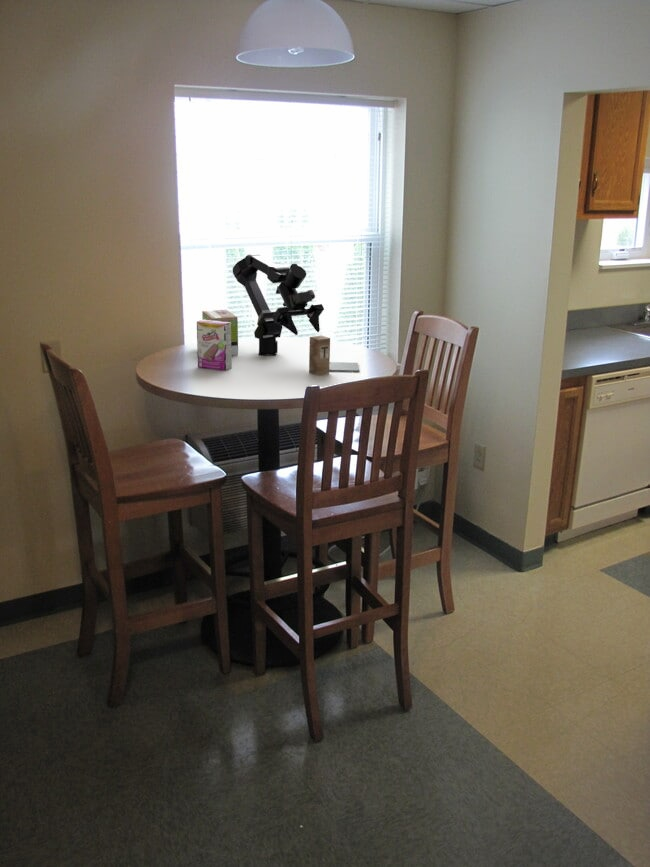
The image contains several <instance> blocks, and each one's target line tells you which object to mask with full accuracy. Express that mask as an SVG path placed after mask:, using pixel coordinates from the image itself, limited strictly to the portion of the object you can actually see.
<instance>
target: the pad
mask: <svg viewBox="0 0 650 867" xmlns="http://www.w3.org/2000/svg"><path fill="white" fill-rule="evenodd" d="M329 372H337V373H338V372H341V373H343V372H344V373H345V372H346V373H359V372H360V367H359V362H346V361H345V362H340V361H332V362H331V361H330V364H329Z"/></svg>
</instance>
